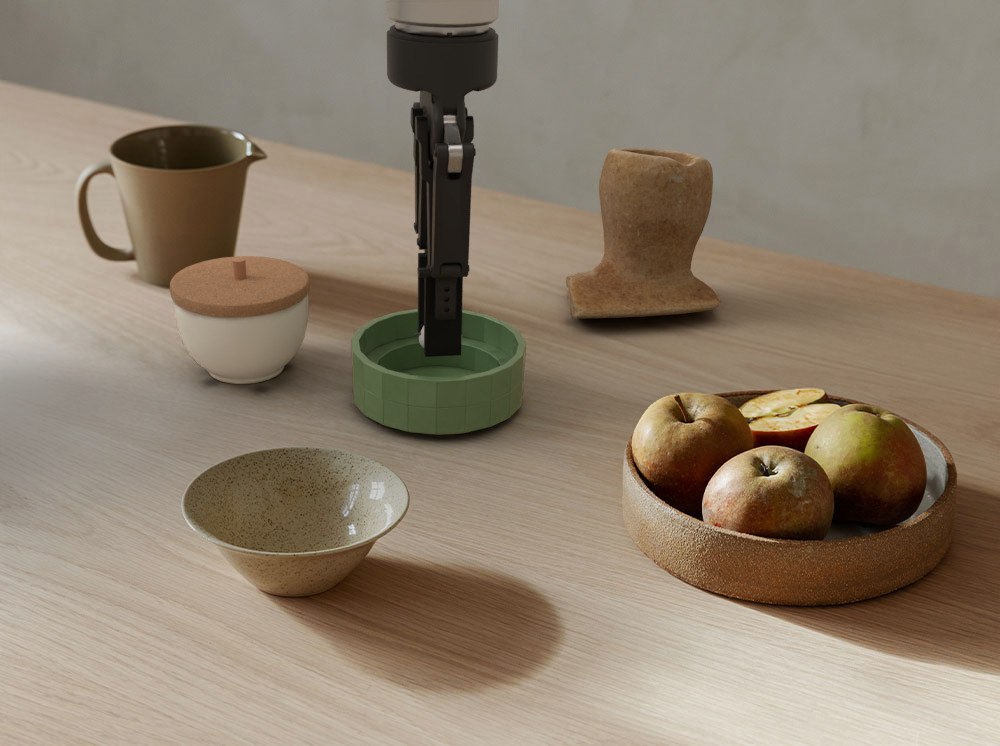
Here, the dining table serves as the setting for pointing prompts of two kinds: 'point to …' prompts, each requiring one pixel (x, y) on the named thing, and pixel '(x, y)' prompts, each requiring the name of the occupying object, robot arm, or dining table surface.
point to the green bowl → (437, 375)
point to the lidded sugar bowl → (241, 315)
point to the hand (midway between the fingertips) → (439, 342)
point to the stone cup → (647, 237)
